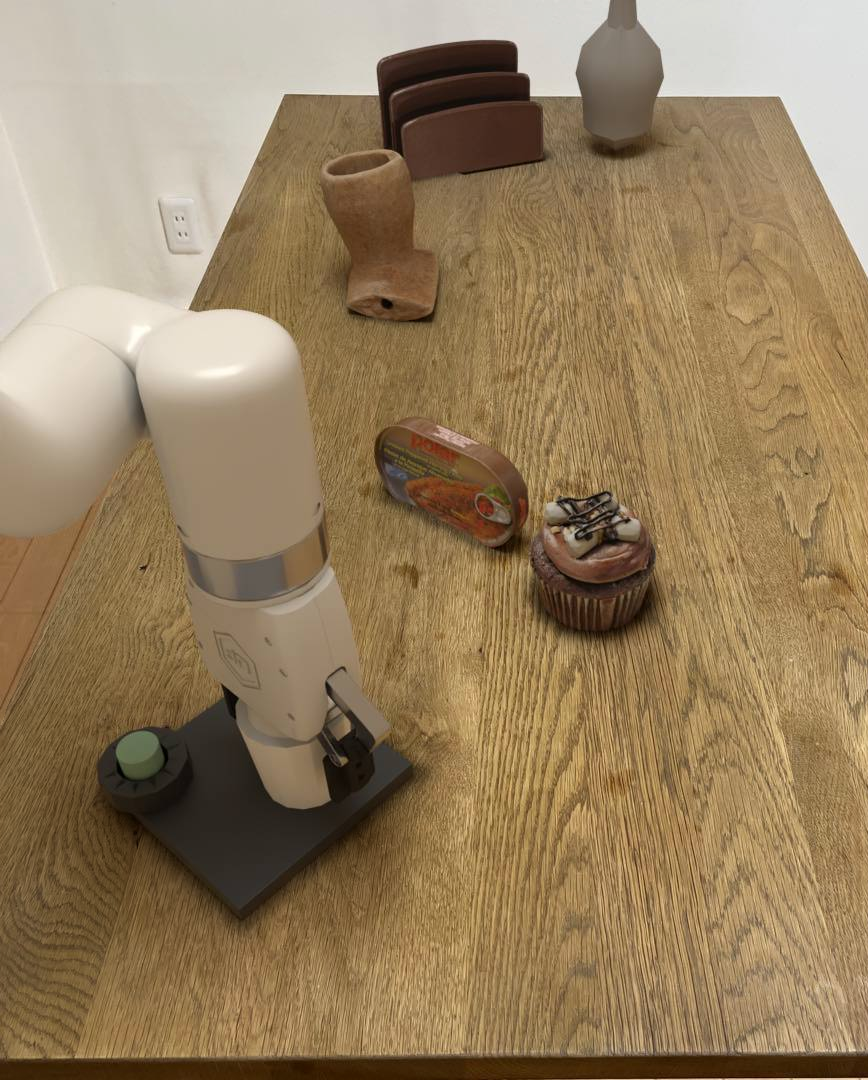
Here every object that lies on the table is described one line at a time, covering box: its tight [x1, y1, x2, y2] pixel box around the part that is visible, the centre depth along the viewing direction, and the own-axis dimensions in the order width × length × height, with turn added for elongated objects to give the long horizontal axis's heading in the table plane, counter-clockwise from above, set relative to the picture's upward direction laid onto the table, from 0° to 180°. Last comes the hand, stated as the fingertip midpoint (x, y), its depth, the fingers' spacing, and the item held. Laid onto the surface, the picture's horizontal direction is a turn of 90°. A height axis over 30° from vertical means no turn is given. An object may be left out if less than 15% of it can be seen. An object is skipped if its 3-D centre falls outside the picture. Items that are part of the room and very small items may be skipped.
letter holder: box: [376, 39, 545, 181], centre depth 147 cm, size 10×20×14 cm, turn 113°
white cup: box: [236, 695, 351, 809], centre depth 69 cm, size 7×7×7 cm
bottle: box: [575, 0, 665, 152], centre depth 144 cm, size 11×11×30 cm
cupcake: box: [528, 490, 658, 633], centre depth 83 cm, size 10×10×10 cm
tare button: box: [116, 731, 165, 781], centre depth 70 cm, size 3×3×2 cm
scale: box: [96, 696, 414, 921], centre depth 72 cm, size 15×15×4 cm
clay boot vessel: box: [319, 148, 440, 322], centre depth 118 cm, size 15×12×15 cm
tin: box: [373, 415, 530, 548], centre depth 91 cm, size 15×3×8 cm, turn 53°
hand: (301, 744), depth 70 cm, fingers open, 9 cm apart
